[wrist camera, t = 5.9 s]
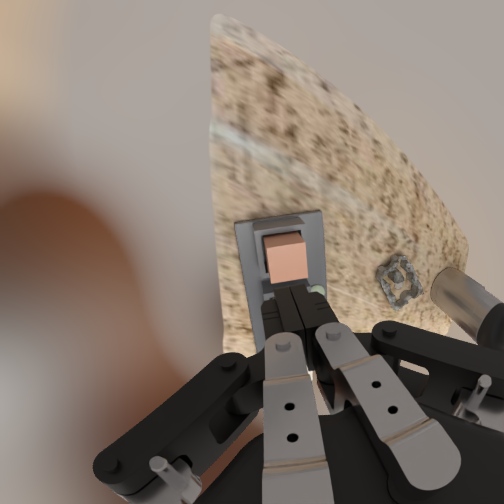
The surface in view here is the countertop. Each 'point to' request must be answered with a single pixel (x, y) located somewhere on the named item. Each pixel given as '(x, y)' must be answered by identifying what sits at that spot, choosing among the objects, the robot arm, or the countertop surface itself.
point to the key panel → (256, 263)
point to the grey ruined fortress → (399, 281)
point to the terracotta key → (285, 256)
